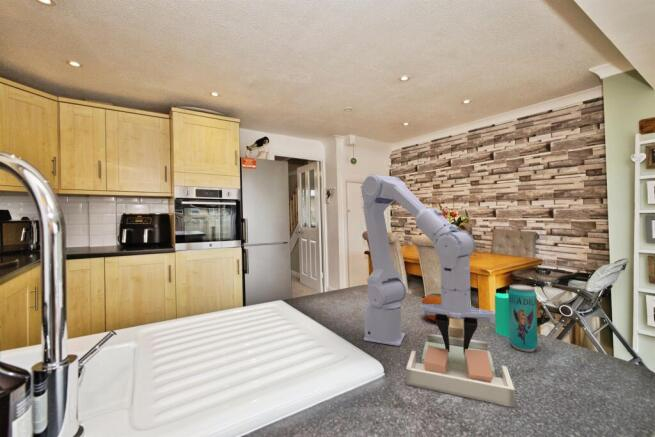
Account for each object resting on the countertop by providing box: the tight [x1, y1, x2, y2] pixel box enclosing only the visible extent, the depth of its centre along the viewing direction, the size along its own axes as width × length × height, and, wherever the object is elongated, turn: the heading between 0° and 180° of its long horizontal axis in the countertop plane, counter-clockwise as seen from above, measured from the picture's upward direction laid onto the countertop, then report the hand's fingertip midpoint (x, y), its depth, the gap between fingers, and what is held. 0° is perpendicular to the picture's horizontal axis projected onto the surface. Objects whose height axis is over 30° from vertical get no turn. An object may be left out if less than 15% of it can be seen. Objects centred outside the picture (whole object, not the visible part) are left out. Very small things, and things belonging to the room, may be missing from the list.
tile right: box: [464, 349, 493, 383], centre depth 57 cm, size 4×5×2 cm
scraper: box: [427, 318, 488, 351], centre depth 73 cm, size 13×8×6 cm, turn 66°
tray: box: [405, 350, 516, 409], centre depth 56 cm, size 18×8×3 cm, turn 66°
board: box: [421, 341, 496, 377], centre depth 64 cm, size 14×10×2 cm
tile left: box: [424, 345, 449, 374], centre depth 60 cm, size 4×5×2 cm
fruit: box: [421, 292, 454, 322], centre depth 91 cm, size 11×10×8 cm
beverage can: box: [507, 284, 538, 353], centre depth 71 cm, size 6×6×15 cm
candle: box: [494, 292, 509, 338], centre depth 80 cm, size 6×6×12 cm
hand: (456, 351), depth 62 cm, fingers open, 3 cm apart
